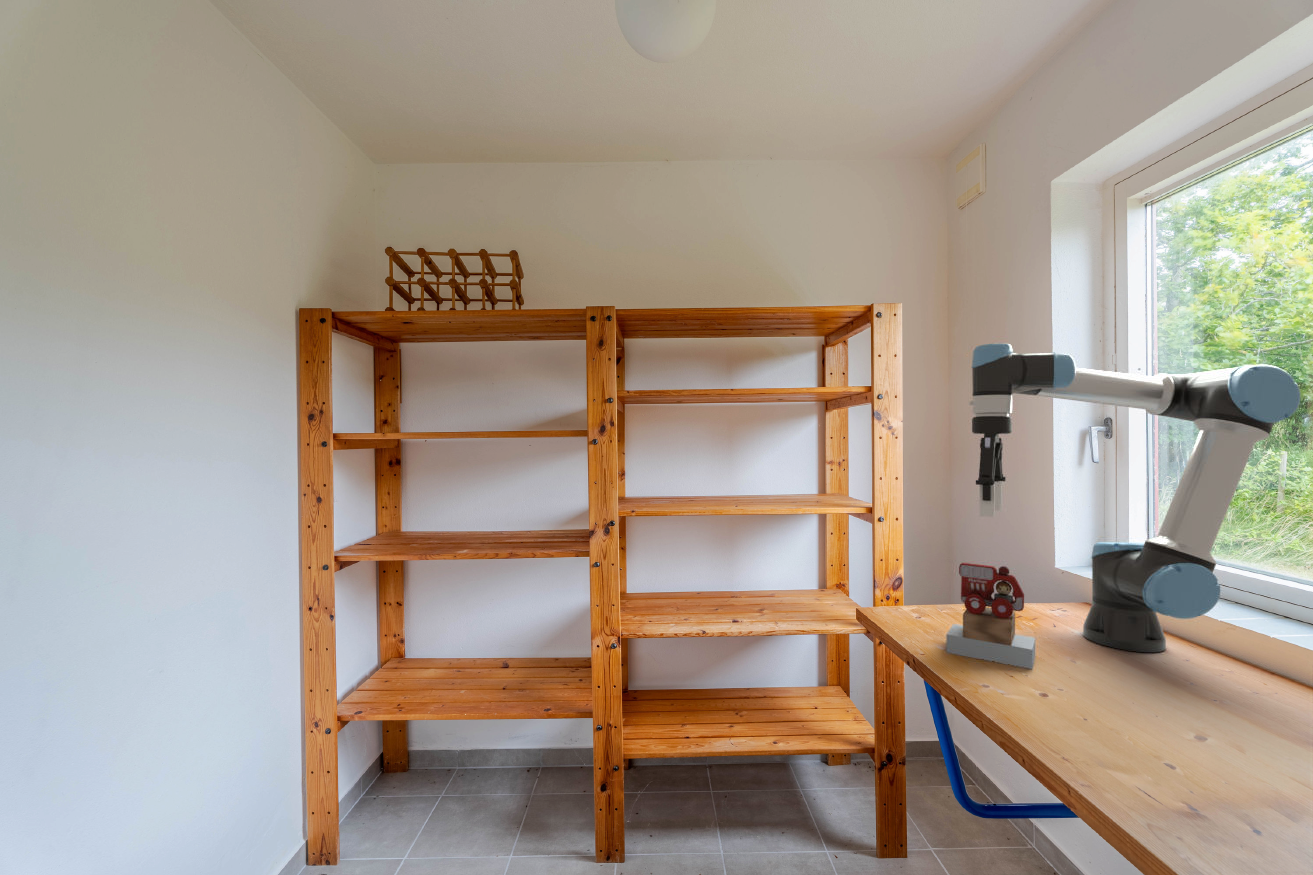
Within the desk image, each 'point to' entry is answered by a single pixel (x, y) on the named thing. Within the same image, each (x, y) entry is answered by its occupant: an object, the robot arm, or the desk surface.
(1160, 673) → the desk surface
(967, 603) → the toy fire truck
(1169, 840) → the desk surface
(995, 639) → the walnut block
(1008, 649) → the plinth
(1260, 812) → the desk surface
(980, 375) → the robot arm
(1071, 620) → the desk surface
